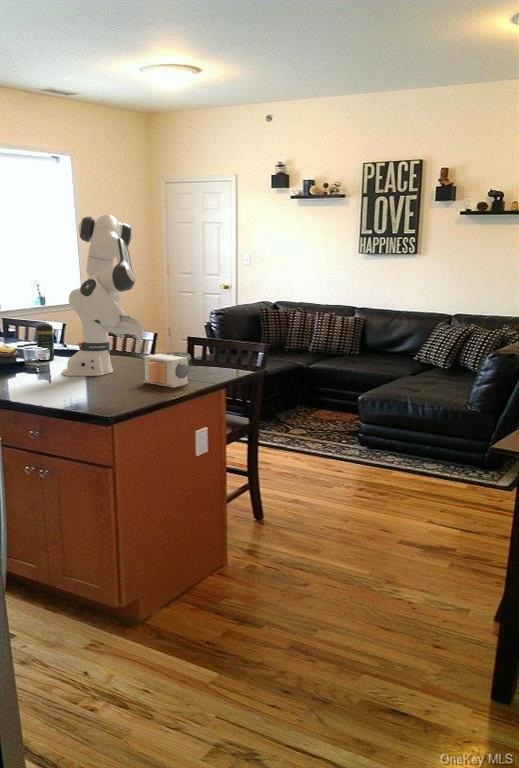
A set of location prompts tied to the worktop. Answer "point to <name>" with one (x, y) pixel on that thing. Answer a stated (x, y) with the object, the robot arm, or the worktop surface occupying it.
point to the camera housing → (169, 369)
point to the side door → (157, 372)
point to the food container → (181, 356)
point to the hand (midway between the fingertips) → (131, 338)
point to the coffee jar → (45, 338)
